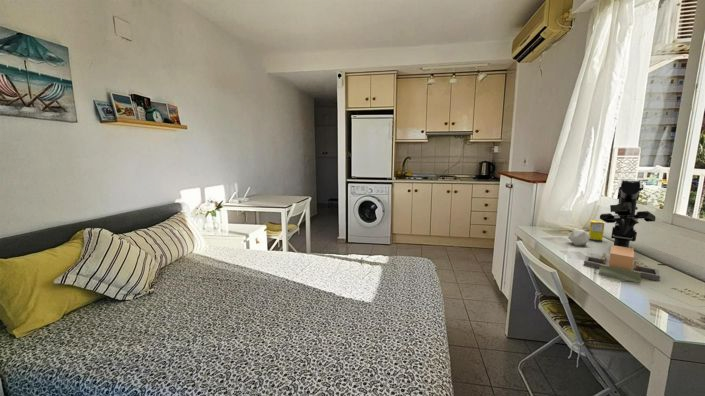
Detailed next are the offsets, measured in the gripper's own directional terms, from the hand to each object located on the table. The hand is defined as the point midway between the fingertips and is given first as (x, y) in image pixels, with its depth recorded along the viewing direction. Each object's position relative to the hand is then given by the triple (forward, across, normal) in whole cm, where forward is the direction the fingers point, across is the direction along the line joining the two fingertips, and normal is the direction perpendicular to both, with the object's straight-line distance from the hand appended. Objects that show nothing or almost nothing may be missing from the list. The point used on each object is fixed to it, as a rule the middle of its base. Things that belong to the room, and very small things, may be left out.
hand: (623, 234), depth 132 cm
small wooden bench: (+18, +3, -6) cm, 19 cm away
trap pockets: (+19, +4, -7) cm, 21 cm away
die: (+3, -25, +8) cm, 26 cm away
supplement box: (-7, -27, +25) cm, 37 cm away
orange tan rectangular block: (+20, +5, -8) cm, 22 cm away
